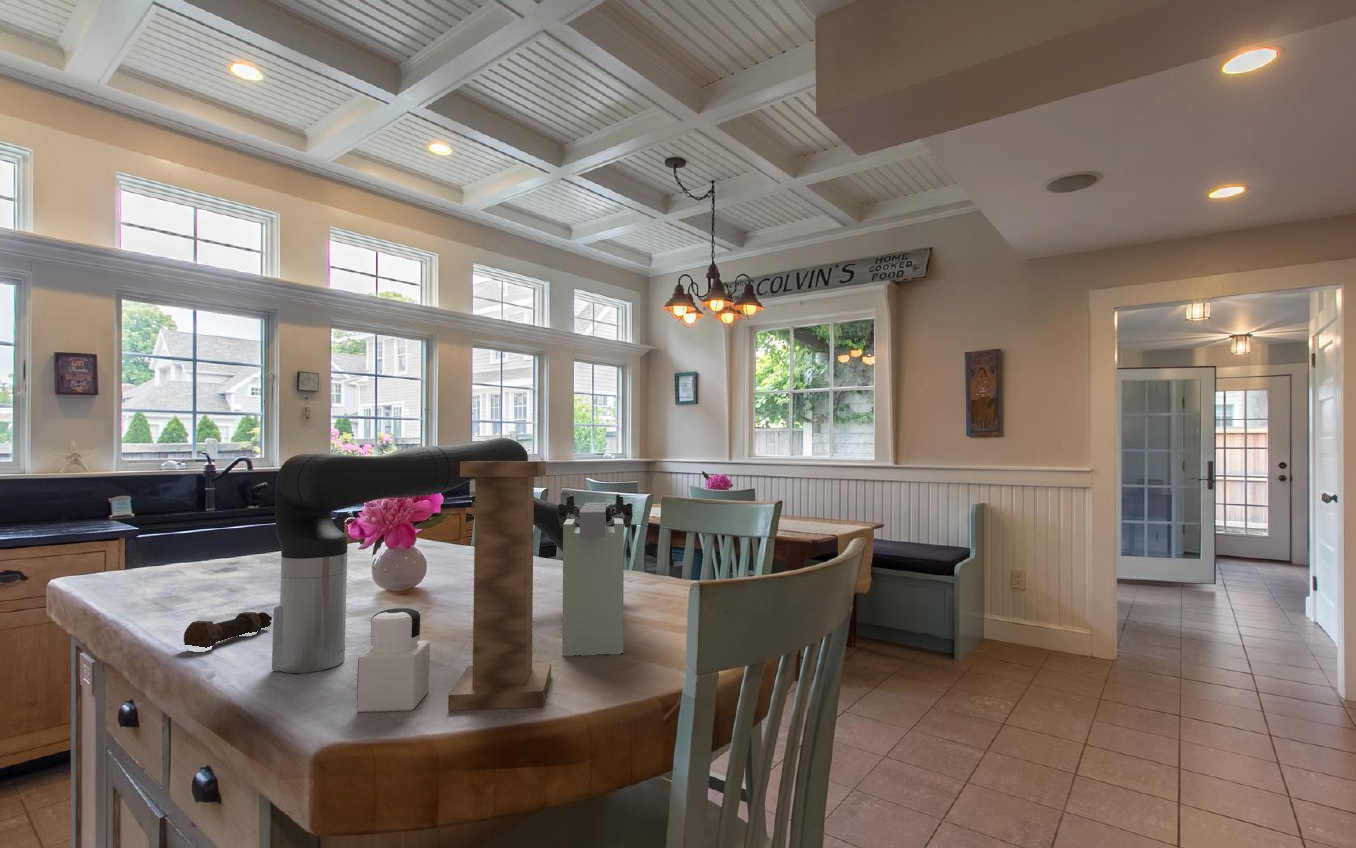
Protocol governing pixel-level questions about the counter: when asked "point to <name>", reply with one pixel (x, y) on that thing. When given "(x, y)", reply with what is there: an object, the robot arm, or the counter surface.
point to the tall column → (502, 591)
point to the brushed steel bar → (593, 520)
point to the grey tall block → (593, 591)
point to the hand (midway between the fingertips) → (595, 498)
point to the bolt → (224, 629)
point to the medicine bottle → (393, 663)
